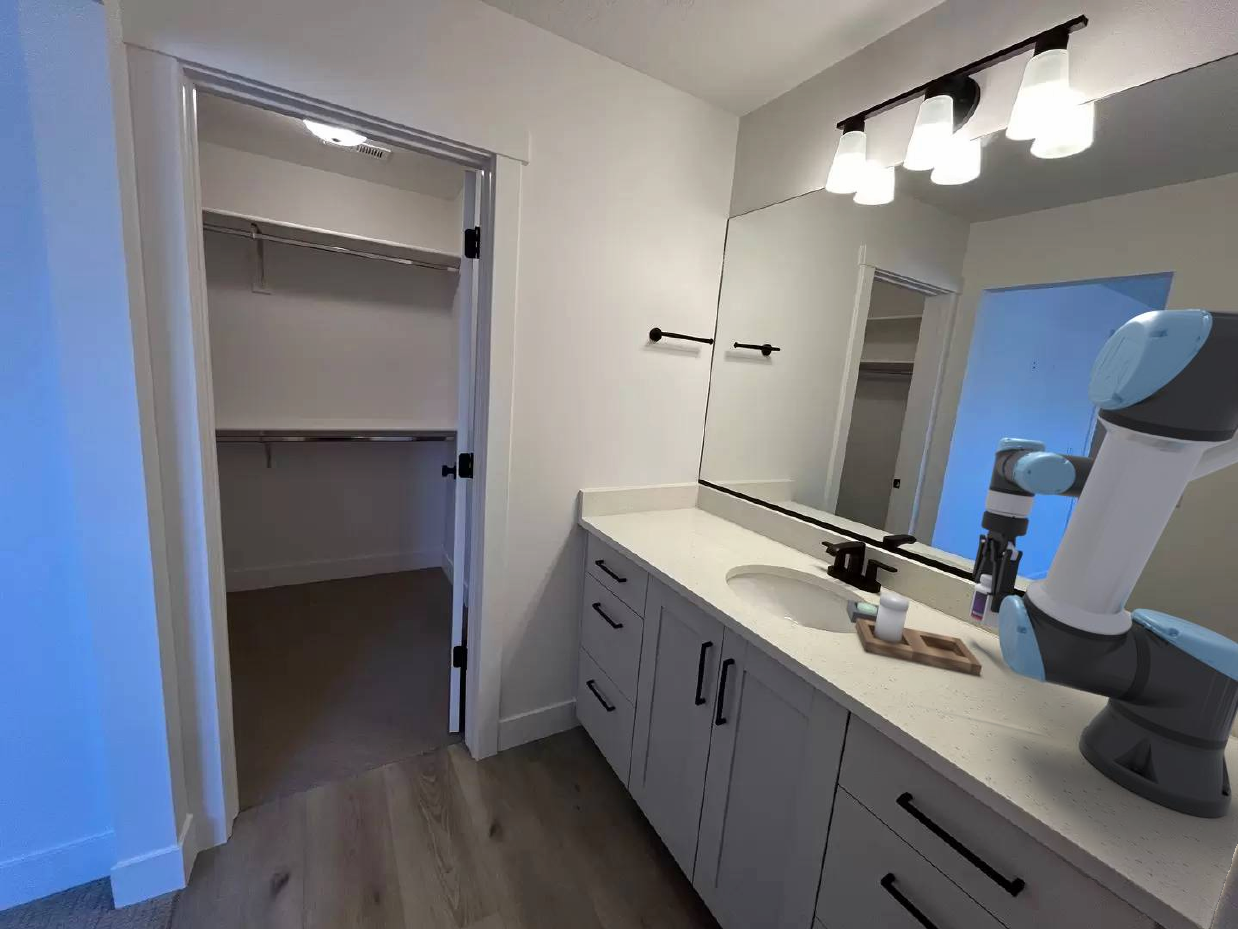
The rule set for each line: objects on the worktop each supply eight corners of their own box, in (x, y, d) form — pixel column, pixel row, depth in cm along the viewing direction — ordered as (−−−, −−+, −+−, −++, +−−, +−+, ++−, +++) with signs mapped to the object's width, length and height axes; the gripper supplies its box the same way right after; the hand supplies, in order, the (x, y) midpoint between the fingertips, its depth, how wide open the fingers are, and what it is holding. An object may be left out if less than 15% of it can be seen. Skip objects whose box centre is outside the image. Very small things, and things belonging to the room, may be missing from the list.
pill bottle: (1004, 629, 104) (1014, 584, 102) (975, 624, 105) (985, 579, 103) (990, 618, 109) (1000, 575, 108) (963, 613, 110) (972, 571, 109)
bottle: (903, 652, 101) (912, 605, 99) (874, 646, 102) (883, 600, 100) (896, 640, 106) (905, 595, 104) (869, 635, 107) (878, 590, 105)
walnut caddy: (957, 652, 105) (960, 638, 105) (978, 680, 95) (982, 665, 94) (854, 630, 110) (856, 618, 110) (864, 655, 100) (866, 641, 100)
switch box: (884, 633, 111) (887, 618, 110) (850, 626, 113) (853, 611, 112) (877, 619, 117) (880, 605, 117) (845, 613, 119) (848, 599, 119)
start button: (876, 625, 112) (879, 612, 112) (857, 621, 113) (859, 608, 113) (872, 617, 116) (875, 604, 116) (854, 614, 117) (856, 601, 117)
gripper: (1053, 526, 94) (1025, 643, 97) (1006, 508, 111) (985, 607, 115) (1006, 519, 96) (981, 634, 99) (968, 502, 113) (947, 600, 116)
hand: (983, 619), depth 107 cm, fingers closed on pill bottle, 5 cm apart
